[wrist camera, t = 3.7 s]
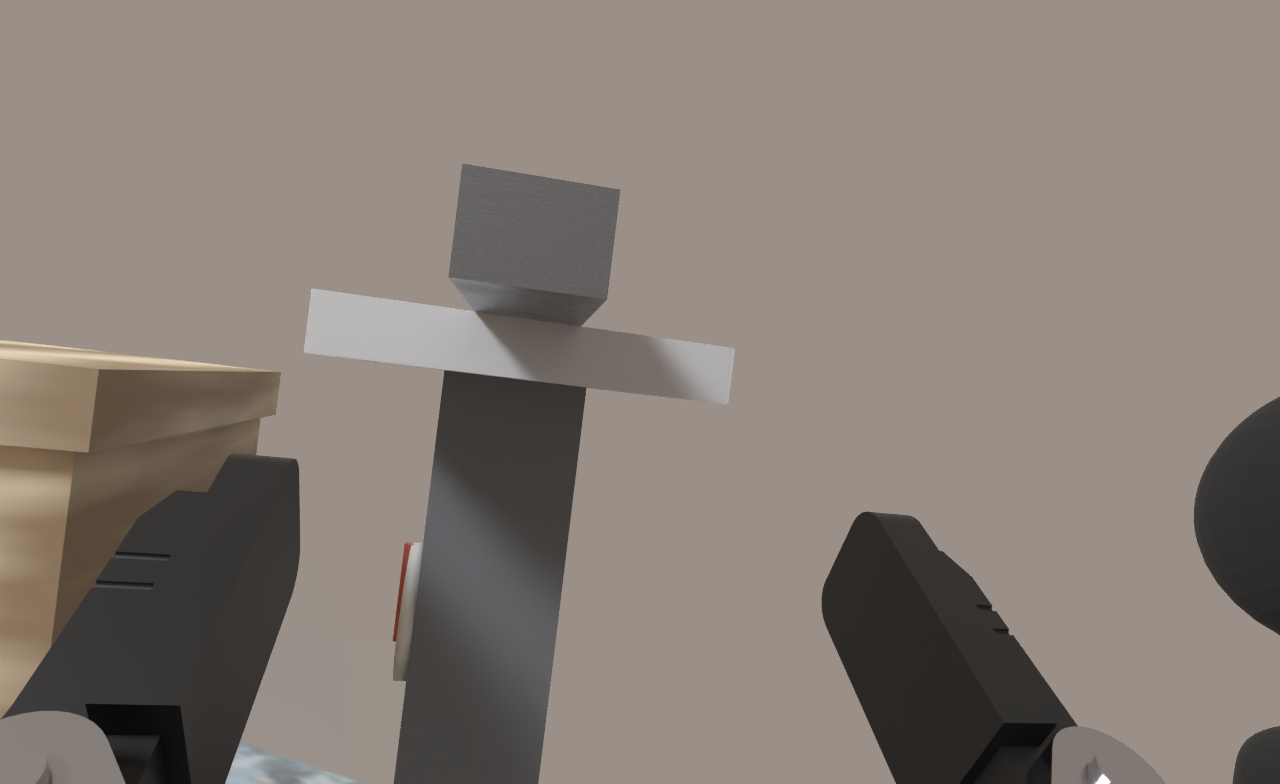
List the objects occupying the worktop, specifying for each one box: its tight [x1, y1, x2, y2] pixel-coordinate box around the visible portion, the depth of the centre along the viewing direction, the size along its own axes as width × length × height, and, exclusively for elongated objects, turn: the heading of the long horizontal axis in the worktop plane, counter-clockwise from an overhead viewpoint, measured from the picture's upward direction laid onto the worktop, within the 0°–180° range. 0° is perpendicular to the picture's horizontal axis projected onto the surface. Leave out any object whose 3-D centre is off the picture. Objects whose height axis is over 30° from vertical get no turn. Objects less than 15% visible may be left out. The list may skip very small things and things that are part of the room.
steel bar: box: [449, 164, 620, 326], centre depth 28 cm, size 4×24×2 cm, turn 9°
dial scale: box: [304, 289, 735, 784], centre depth 32 cm, size 14×16×32 cm
